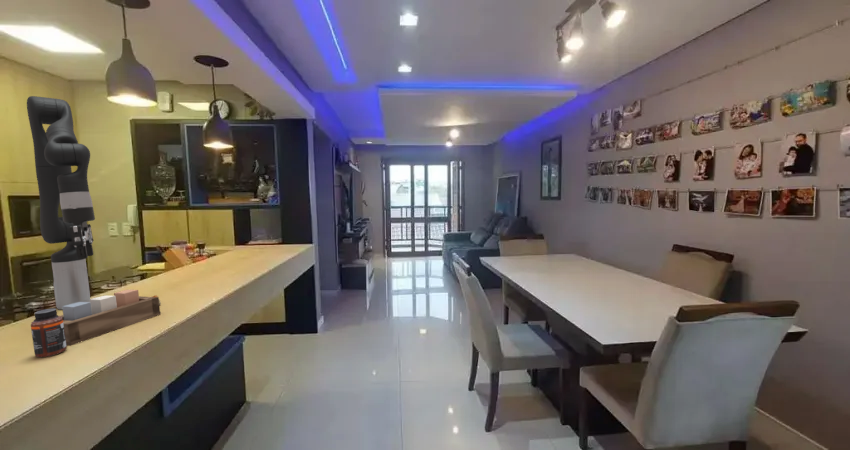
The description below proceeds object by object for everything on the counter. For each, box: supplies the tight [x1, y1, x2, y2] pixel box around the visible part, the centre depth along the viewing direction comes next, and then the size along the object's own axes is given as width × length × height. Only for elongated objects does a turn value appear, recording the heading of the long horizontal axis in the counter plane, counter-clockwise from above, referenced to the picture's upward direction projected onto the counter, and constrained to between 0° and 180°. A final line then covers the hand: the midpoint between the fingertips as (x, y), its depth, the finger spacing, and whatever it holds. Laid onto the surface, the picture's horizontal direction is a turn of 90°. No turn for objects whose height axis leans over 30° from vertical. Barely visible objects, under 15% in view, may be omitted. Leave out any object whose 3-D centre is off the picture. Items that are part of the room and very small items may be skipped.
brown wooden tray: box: [60, 295, 161, 346], centre depth 118 cm, size 12×26×6 cm, turn 164°
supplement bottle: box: [30, 308, 68, 358], centre depth 98 cm, size 6×6×11 cm
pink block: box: [113, 289, 140, 307], centre depth 124 cm, size 4×4×5 cm
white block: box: [90, 295, 117, 315], centre depth 117 cm, size 4×4×5 cm
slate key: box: [62, 302, 92, 321], centre depth 110 cm, size 4×4×5 cm
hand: (86, 257), depth 123 cm, fingers open, 8 cm apart
